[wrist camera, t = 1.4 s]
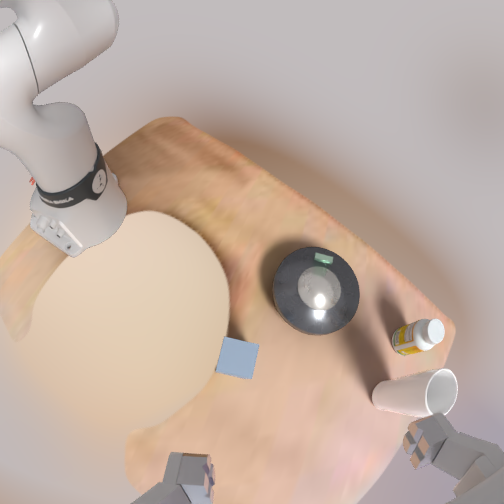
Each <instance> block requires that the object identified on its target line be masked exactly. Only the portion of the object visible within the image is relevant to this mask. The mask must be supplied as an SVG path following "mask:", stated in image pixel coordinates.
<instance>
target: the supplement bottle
mask: <svg viewBox="0 0 504 504" xmlns="http://www.w3.org/2000/svg"><path fill="white" fill-rule="evenodd" d="M443 337H444V326H443V324H442V322H441V321H440V320H438V319H432V320H428V319H421V320H418V321H416V322H413V323H411V324H408V325H406V326H403V327H400V328H398V329H397V330H396V331H395V332H394V334H393V337H392V346H393V348H394V350H395V352H396V353H398V354H400V355H409V354H414V353H418V352H422V351H426V350H429V349H431V348H432V347H433V346H434V345H435V344H437V343H439V342H441V341H442V339H443Z"/></svg>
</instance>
